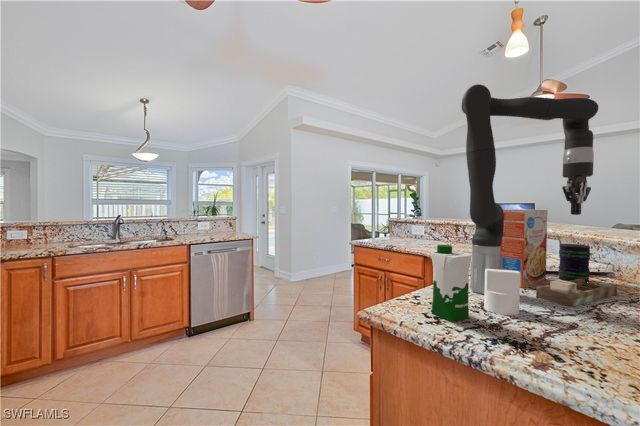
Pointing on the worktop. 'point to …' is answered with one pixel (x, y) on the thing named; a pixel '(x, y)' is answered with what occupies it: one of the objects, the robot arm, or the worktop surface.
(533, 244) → the orange cereal box
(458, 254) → the milk carton
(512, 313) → the base with upright slab
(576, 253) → the storage jar
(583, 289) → the trap track
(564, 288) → the maple block
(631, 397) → the worktop surface
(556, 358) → the worktop surface
